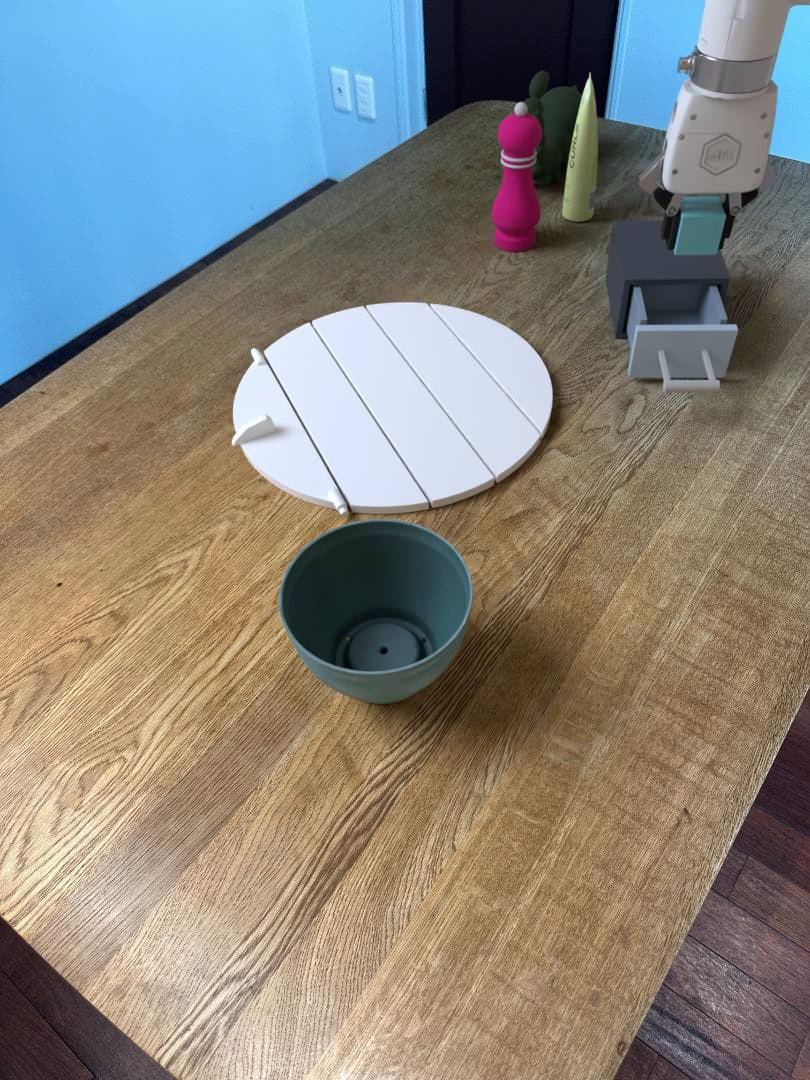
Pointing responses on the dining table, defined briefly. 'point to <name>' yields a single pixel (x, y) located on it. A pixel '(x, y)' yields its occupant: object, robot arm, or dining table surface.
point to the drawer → (679, 336)
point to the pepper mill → (517, 182)
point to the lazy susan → (393, 407)
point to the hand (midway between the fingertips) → (693, 242)
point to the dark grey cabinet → (653, 266)
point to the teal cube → (700, 226)
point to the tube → (582, 161)
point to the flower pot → (377, 607)
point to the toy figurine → (552, 126)
